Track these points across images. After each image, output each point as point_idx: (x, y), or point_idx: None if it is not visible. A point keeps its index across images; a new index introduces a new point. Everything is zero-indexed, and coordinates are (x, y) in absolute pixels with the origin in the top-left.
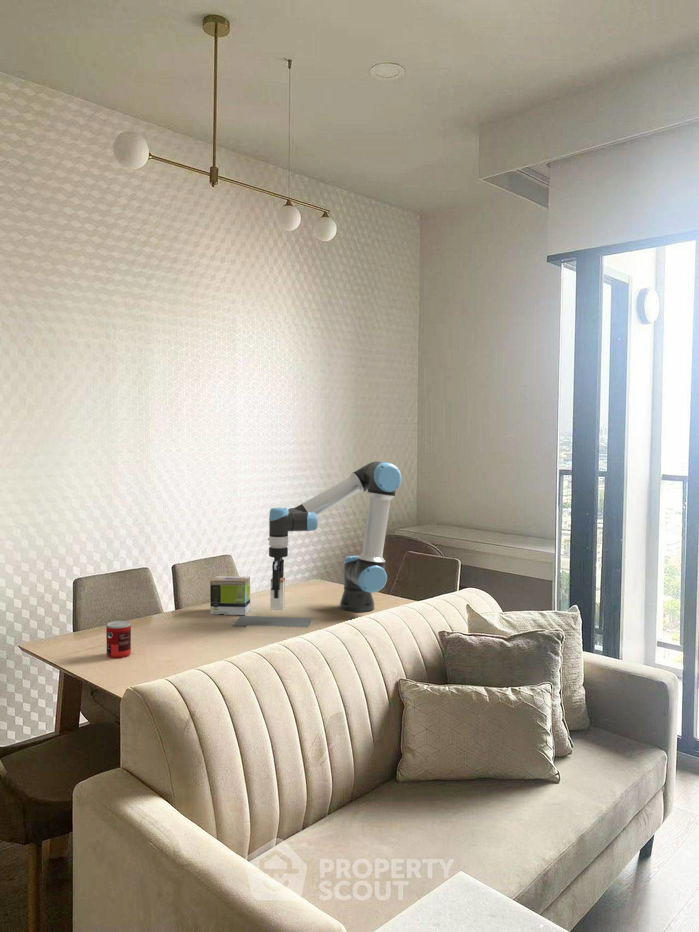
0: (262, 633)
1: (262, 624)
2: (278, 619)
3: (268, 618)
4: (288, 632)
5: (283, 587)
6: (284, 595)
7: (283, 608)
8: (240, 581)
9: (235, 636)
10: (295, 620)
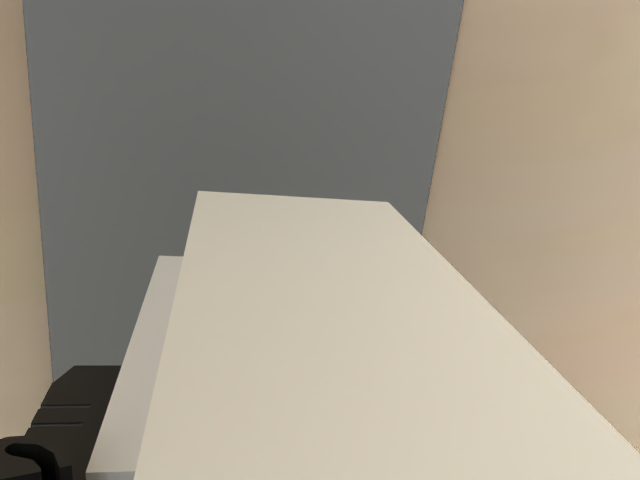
0: (587, 299)
1: None
2: (162, 223)
3: (132, 327)
4: (601, 74)
5: (513, 422)
6: (249, 272)
7: (326, 201)
8: None
9: None
10: (188, 13)
